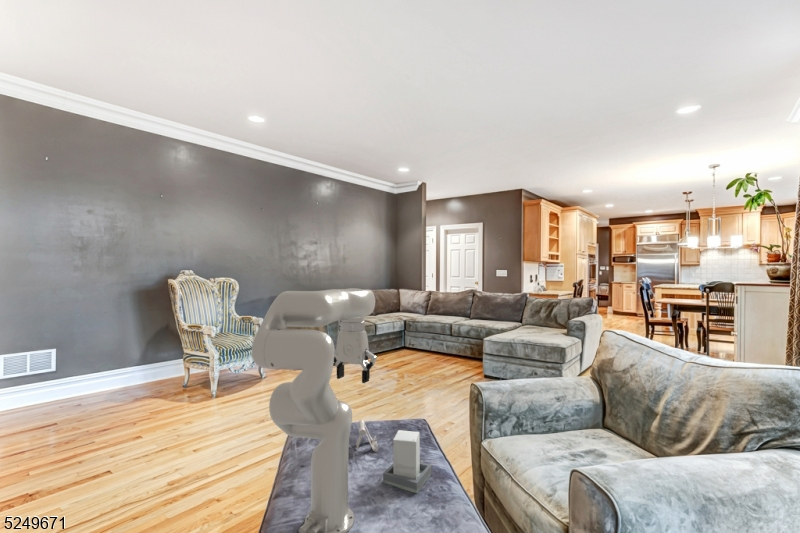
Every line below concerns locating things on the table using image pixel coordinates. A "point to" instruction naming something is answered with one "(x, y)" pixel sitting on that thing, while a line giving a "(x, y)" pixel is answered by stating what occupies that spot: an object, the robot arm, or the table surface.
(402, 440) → the supplement box
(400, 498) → the table surface
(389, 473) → the tray
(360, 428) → the portable electronic device stand
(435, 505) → the table surface
